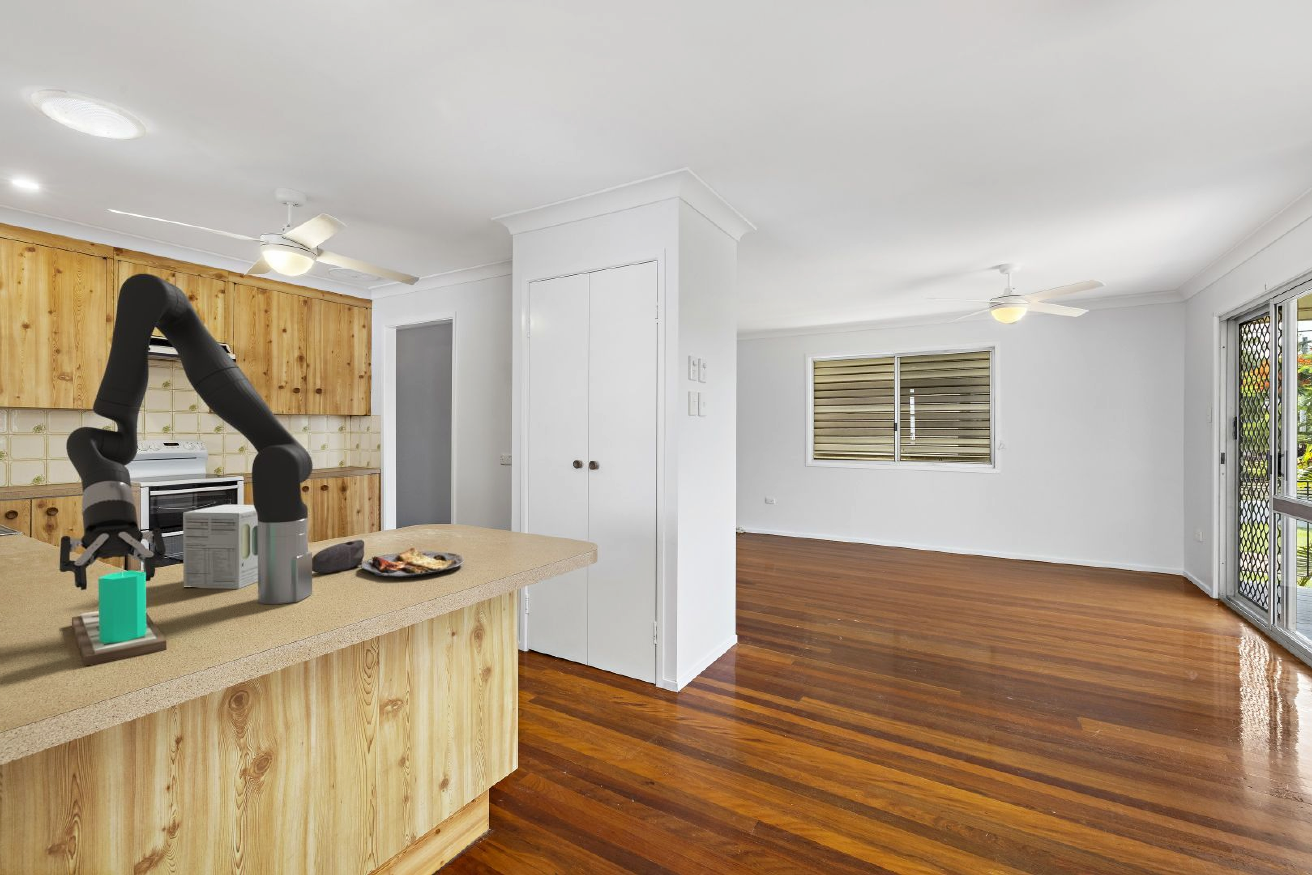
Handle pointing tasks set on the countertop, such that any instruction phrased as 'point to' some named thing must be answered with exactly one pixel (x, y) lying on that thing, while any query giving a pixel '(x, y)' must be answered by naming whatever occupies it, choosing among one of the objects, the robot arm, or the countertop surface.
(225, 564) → the supplement box
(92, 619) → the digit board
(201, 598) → the countertop surface
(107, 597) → the candle
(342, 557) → the perforated stone tool
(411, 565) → the food plate
